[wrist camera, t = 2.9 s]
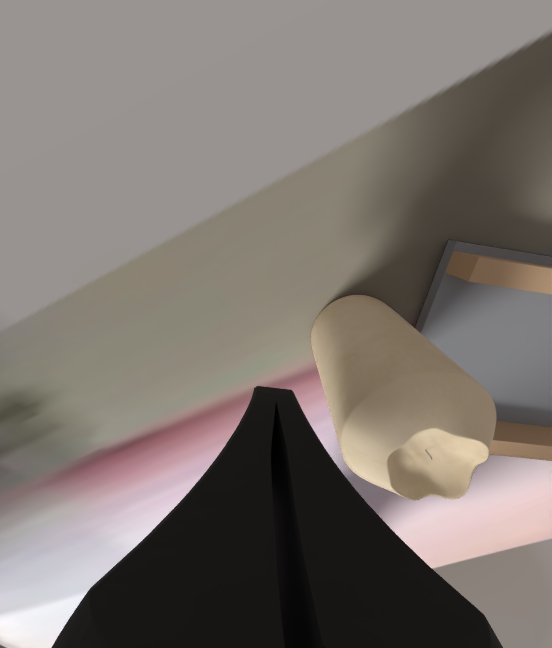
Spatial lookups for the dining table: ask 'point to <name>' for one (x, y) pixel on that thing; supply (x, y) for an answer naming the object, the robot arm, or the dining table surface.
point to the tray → (498, 336)
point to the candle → (399, 401)
